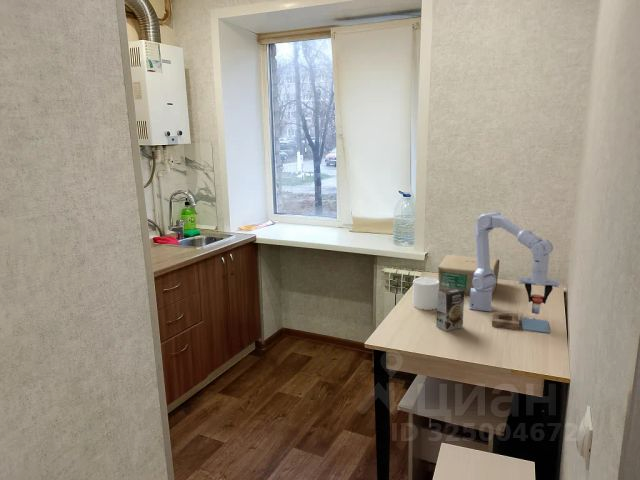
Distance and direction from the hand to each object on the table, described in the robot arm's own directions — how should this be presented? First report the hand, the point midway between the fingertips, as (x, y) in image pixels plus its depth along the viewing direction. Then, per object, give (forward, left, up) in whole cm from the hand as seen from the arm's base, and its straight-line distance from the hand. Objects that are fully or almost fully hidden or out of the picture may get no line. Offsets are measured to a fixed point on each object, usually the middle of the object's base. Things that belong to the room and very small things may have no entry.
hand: (536, 302), depth 189 cm
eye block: (-11, -1, -10) cm, 15 cm away
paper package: (-29, +41, -11) cm, 51 cm away
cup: (-46, +9, -11) cm, 48 cm away
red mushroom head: (0, 0, -5) cm, 5 cm away
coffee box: (-33, -12, -11) cm, 37 cm away
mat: (0, 0, -10) cm, 10 cm away
